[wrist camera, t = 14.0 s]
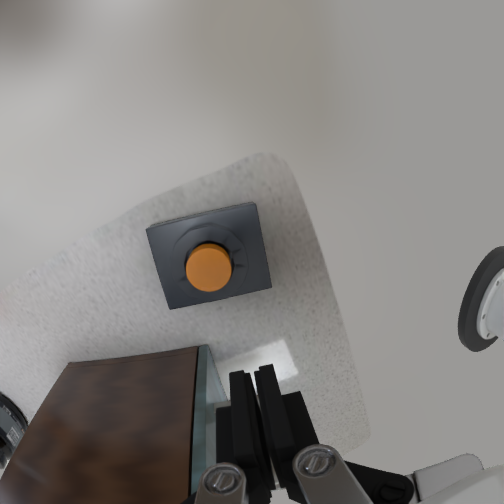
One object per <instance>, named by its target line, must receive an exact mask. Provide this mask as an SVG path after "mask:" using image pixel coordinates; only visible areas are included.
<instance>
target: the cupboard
mask: <svg viewBox="0 0 504 504" xmlns="http://www.w3.org/2000/svg"><path fill="white" fill-rule="evenodd" d="M198 356H199V349H198V347H197V346H195V347H189V348H184V349H178V350H172V351H166V352H159V353H153V354H146V355H139V356H131V357H124V358H115V359H106V360H97V361H87V362H75V363H68V365H67V366H66V367H65V369H64V370H63V372H62V373H61V375H60V376H59V378H58V379H57V381H56V382H55V384H54V385H53V387H52V389H51V390H50V392H49V393H48V395H47V396H46V398H45V400H44V401H43V403H42V404H41V406H40V408H39V409H38V411H37V413H36V414H35V416H34V418H33V419H32V421H31V423H30V424H29V426H28V428H27V430H26V431H25V433H24V435H23V437H22V438H21V440H20V442H19V444H18V446H17V448H16V449H15V451H14V453H13V455H12V457H11V459H10V461H9V463H8V465H7V467H6V469H5V471H4V473H3V475H2V477H1V479H0V504H180V503H182V502H183V501H184V500H186V499H187V498H188V497H189V496H191V490H192V454H193V431H194V412H195V396H196V381H197V368H198Z"/></svg>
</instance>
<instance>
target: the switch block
mask: <svg viewBox="0 0 504 504" xmlns="http://www.w3.org/2000/svg"><path fill="white" fill-rule="evenodd" d="M146 233H147V236H148V240H149V244H150V247H151V251H152V254H153V258H154V261H155V265H156V268H157V272H158V275H159V278H160V281H161V285H162V288H163V291H164V294H165V297H166V300H167V303H168V306H169V309H170V310H171V309H176V308H181V307H186V306H191V305H196V304H201V303H205V302H212V301H217V300H221V299H226V298H229V297H233V296H238V295H242V294H247V293H251V292H255V291H260V290H264V289H268V288H272V284H271V279H270V274H269V268H268V263H267V258H266V253H265V248H264V243H263V238H262V232H261V227H260V222H259V217H258V212H257V207H256V204H255V203H254V202H248V203H244V204H239V205H234V206H230V207H225V208H221V209H216V210H212V211H208V212H203V213H199V214H195V215H190V216H186V217H182V218H178V219H174V220H170V221H166V222H162V223H158V224H154V225H151V226H150V227H148V228H147V229H146ZM209 243H210V244H216V245H218V246H220V247H222V248H223V249H224V250H225V251H226V252H227V254H228V255H229V258H230V262H231V276H230V279H229V281H228V282H227V284H226V285H225V286H224V287H222V288H221V289H219V290H216V291H212V292H207V291H202V290H199V289H197V288H196V287H194V286H193V285H192V284H191V283H190V281H189V280H188V278H187V274H186V265H187V262H188V259H189V256H190V254H191V253H192V251H193V250H194V249H195V248H196V247H198V246H200V245H202V244H209Z"/></svg>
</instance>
